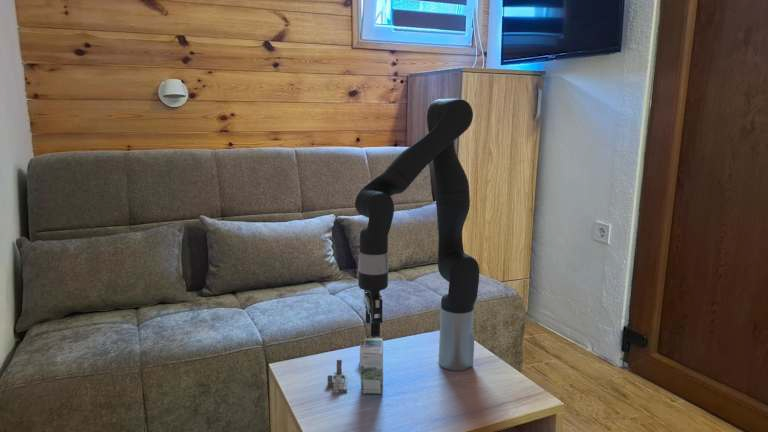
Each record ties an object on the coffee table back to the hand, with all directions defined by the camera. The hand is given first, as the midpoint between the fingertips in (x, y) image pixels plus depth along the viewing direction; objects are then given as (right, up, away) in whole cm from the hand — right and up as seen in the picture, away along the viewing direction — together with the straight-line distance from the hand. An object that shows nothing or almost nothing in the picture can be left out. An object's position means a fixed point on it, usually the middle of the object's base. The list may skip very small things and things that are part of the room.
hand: (372, 329), depth 138 cm
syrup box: (0, -16, +3) cm, 16 cm away
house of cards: (-11, -16, +6) cm, 21 cm away
